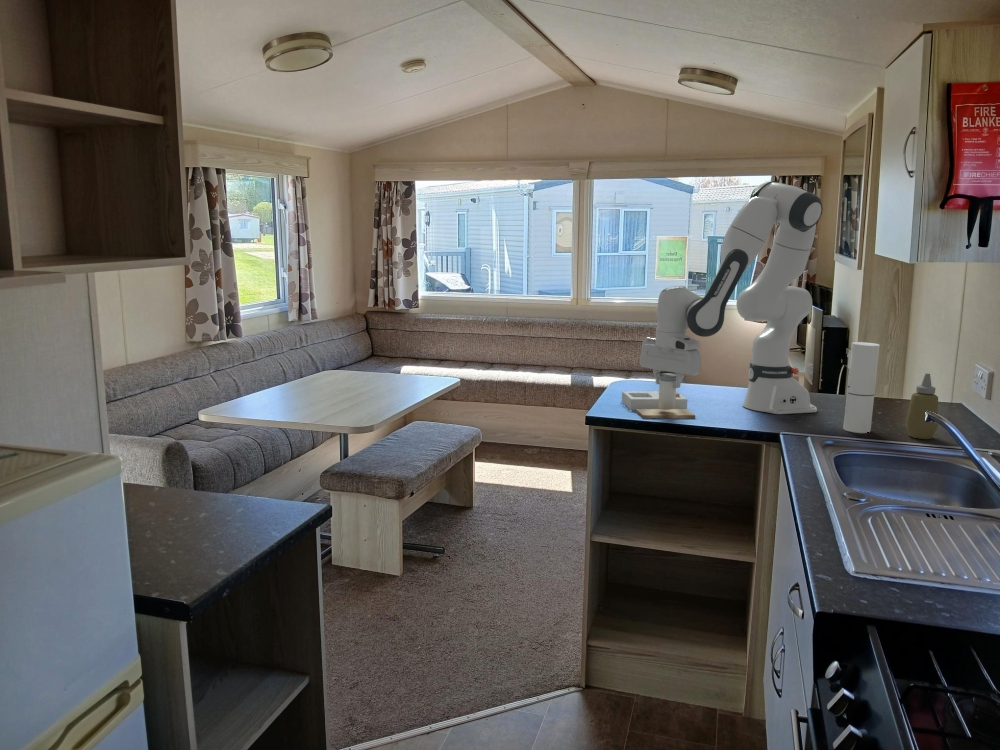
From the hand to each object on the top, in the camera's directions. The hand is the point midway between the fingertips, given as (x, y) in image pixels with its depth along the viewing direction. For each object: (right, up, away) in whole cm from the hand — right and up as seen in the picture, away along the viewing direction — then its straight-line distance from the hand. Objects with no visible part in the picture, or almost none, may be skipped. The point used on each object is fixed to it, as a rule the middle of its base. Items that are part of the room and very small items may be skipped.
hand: (667, 385), depth 234 cm
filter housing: (-1, -7, +15) cm, 16 cm away
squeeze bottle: (+67, -14, -18) cm, 70 cm away
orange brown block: (+4, -6, +15) cm, 17 cm away
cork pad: (0, -9, +2) cm, 9 cm away
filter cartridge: (0, -7, +2) cm, 7 cm away
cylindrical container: (+52, -13, -11) cm, 55 cm away
